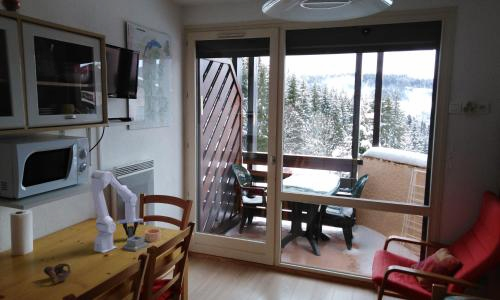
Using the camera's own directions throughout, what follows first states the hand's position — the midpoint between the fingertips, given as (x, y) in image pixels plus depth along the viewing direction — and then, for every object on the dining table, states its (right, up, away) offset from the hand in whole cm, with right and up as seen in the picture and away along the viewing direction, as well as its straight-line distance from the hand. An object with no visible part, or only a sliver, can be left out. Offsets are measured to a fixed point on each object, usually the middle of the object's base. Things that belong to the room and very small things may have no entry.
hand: (130, 234), depth 219 cm
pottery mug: (-17, -9, -52) cm, 55 cm away
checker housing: (+7, -4, -12) cm, 15 cm away
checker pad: (+7, -1, -13) cm, 14 cm away
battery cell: (0, -2, 0) cm, 2 cm away
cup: (+13, -3, 0) cm, 14 cm away
